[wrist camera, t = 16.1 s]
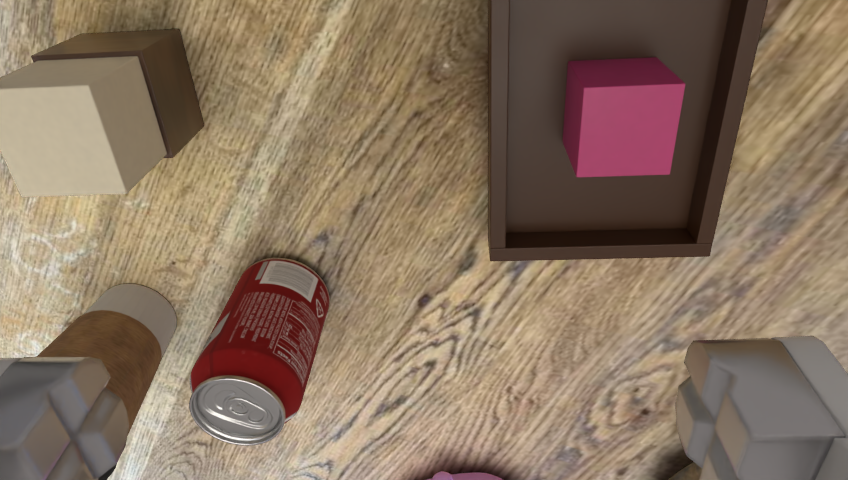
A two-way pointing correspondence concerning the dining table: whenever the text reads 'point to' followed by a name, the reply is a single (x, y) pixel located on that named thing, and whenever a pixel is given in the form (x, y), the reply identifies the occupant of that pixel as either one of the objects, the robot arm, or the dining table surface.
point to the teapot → (464, 476)
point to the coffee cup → (122, 341)
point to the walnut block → (147, 75)
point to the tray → (544, 120)
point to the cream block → (78, 127)
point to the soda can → (260, 353)
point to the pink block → (621, 117)
